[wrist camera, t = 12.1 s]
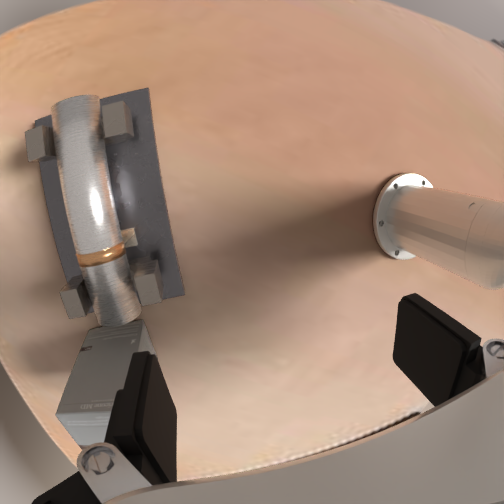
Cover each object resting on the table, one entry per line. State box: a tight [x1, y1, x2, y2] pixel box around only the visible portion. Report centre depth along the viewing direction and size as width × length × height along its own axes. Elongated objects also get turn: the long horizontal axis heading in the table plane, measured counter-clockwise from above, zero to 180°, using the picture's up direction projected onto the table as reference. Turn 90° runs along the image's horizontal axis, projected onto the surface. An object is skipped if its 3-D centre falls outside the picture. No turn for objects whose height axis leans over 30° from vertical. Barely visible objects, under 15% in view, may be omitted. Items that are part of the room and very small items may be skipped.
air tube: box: [51, 95, 142, 327], centre depth 27 cm, size 22×5×5 cm, turn 8°
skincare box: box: [55, 320, 158, 450], centre depth 30 cm, size 8×7×16 cm
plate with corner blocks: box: [25, 88, 185, 319], centre depth 29 cm, size 14×24×8 cm, turn 8°
